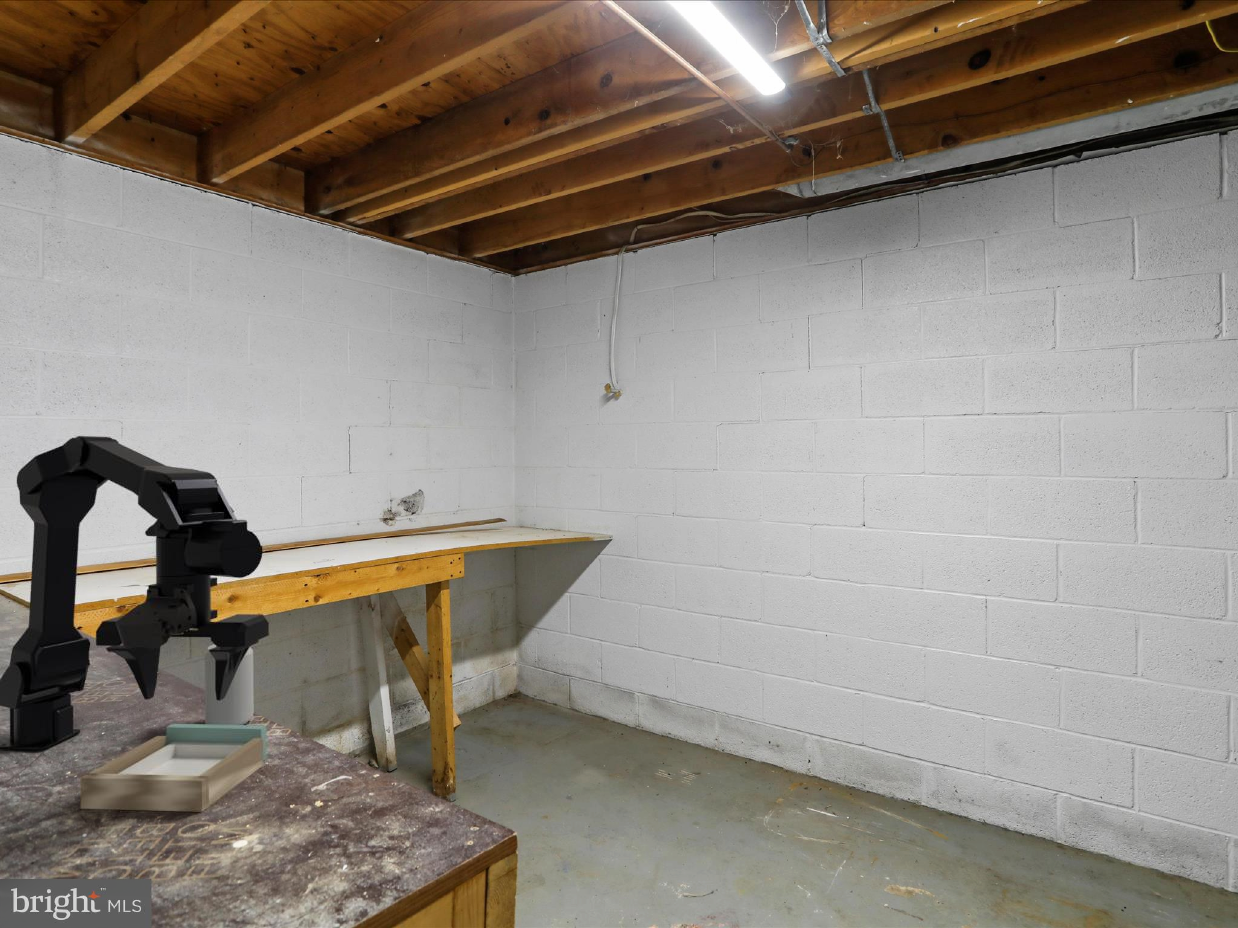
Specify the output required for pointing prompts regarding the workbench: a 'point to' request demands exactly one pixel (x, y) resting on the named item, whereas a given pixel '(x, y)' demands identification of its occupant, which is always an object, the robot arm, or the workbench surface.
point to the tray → (196, 748)
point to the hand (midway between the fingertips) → (184, 698)
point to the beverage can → (230, 694)
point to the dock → (166, 781)
